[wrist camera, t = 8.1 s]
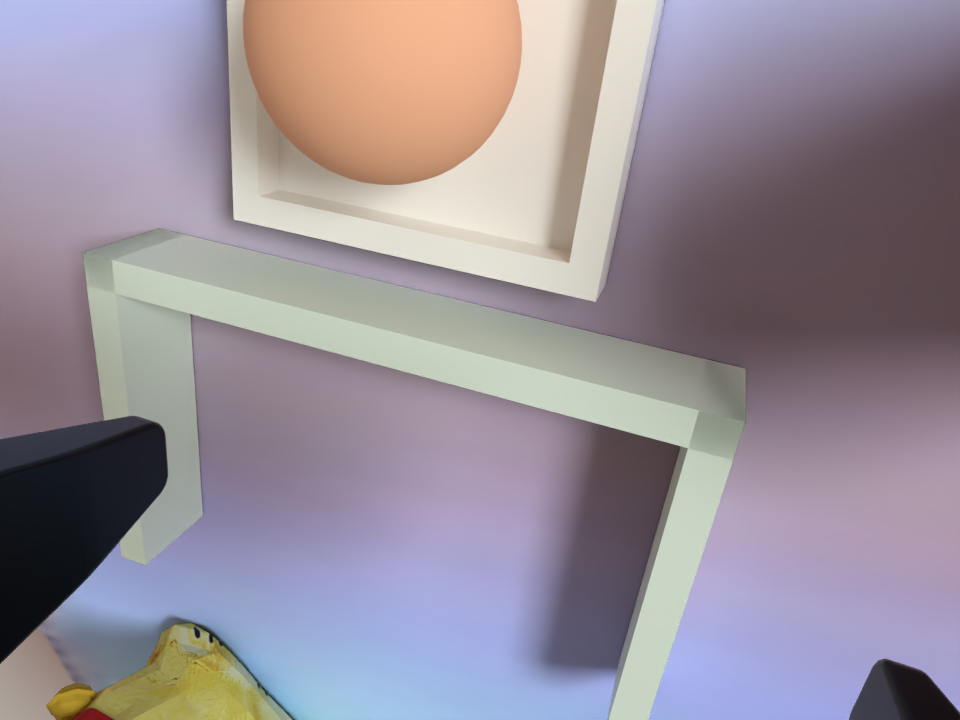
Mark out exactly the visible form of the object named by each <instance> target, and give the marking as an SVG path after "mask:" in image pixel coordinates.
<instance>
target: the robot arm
mask: <svg viewBox="0 0 960 720" xmlns="http://www.w3.org/2000/svg"><path fill="white" fill-rule="evenodd" d="M167 479H168V461H167V447H166V434H165V431H164V429H163V427H162V425H160V424H159V423H157V422H154V421H151V420H148V419H145V418H142V417H139V416H127V417H121V418H116V419H110V420H105V421H99V422H94V423H88V424H83V425H77V426H72V427H66V428H61V429H55V430H49V431H44V432H38V433H33V434H27V435H22V436H16V437H11V438H5V439H0V664H1V663H2V661H4V660H5V659H6V658H7V657H8V656H9V655H10V654H11V653H12V652H13V651H14V650H15V649H16V648H17V647H18V646H19V645H20V644H21V643H22V642H23V641H24V640H25V639H26V638H27V637H28V636H29V635H30V634H31V633H32V632H33V631H34V630H35V629H37V628H38V627H39V626H40V625H41V624H42V623H43V622H44V621H45V620H46V619H47V618H48V617H49V616H50V615H51V614H52V613H53V612H54V611H55V610H56V609H57V608H58V607H59V606H60V605H61V604H62V603H63V602H64V601H65V600H66V599H67V598H68V597H69V596H70V595H71V594H73V593H74V592H75V591H76V590H77V588H78V587H79V586H80V585H81V584H82V583H83V582H84V581H85V580H86V579H87V578H88V577H89V576H90V575H91V574H92V573H93V572H94V571H95V569H96V568H97V567H98V566H99V565H100V564H101V563H102V562H103V560H104V559H105V558H106V557H107V556H108V555H109V553H110V552H111V551H112V550H113V549H114V548H115V546H116V545H117V544H118V543H119V542H120V540H121V539H122V538H123V537H124V536H125V535H126V533H127V532H128V531H129V530H130V529H131V528H132V526H133V525H134V524H135V523H136V522H137V521H138V519H139V518H140V517H141V516H142V515H143V514H144V512H145V511H146V510H147V509H148V508H149V507H150V505H151V504H152V503H153V502H154V501H155V500H156V498H157V497H158V496H159V495H160V494H161V492H162V491H163V489H164V487H165V485H166V483H167ZM849 720H960V712H959V711H958V710H957V709H956V708H955V706H954V705H953V704H952V703H951V702H950V701H949V699H948V698H947V697H946V696H945V695H944V694H943V692H942V691H941V690H940V689H939V688H938V687H937V685H936V684H935V683H934V682H933V681H932V679H931V678H930V677H929V676H928V675H927V674H926V673H924V672H923V671H921V670H919V669H916V668H913V667H910V666H907V665H904V664H901V663H898V662H895V661H891V660H888V659H882V660H878V661H877V663H876V664H875V665H874V666H873V668H872V669H871V671H870V674H869V676H868V678H867V680H866V682H865V684H864V686H863V688H862V690H861V692H860V695H859V697H858V699H857V701H856V703H855V705H854V707H853V709H852V712H851V714H850V718H849Z"/></svg>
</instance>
